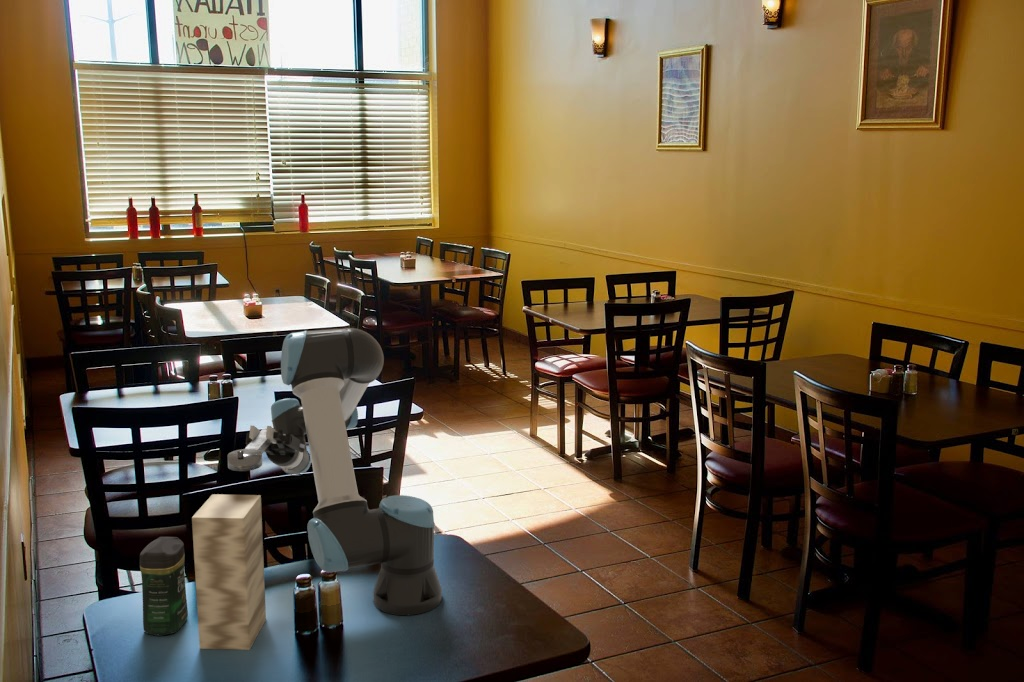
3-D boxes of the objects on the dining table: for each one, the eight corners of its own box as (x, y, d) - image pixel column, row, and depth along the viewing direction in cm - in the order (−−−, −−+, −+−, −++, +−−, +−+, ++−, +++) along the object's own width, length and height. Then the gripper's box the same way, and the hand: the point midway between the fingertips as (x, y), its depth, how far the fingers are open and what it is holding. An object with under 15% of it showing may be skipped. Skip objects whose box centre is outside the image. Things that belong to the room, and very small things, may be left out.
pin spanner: (254, 437, 212) (253, 420, 211) (284, 437, 212) (283, 420, 211) (223, 470, 190) (222, 452, 189) (257, 471, 190) (256, 452, 189)
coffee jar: (177, 637, 185) (172, 553, 182) (138, 637, 185) (132, 552, 181) (193, 613, 195) (188, 533, 191) (156, 613, 195) (150, 532, 191)
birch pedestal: (266, 619, 193) (260, 495, 187) (249, 649, 181) (243, 518, 176) (219, 618, 193) (212, 494, 187) (199, 648, 181) (191, 517, 176)
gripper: (315, 467, 225) (294, 448, 203) (250, 466, 225) (222, 447, 203) (317, 437, 227) (297, 416, 205) (253, 436, 227) (225, 414, 205)
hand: (259, 431), depth 204 cm, fingers closed on pin spanner, 3 cm apart
